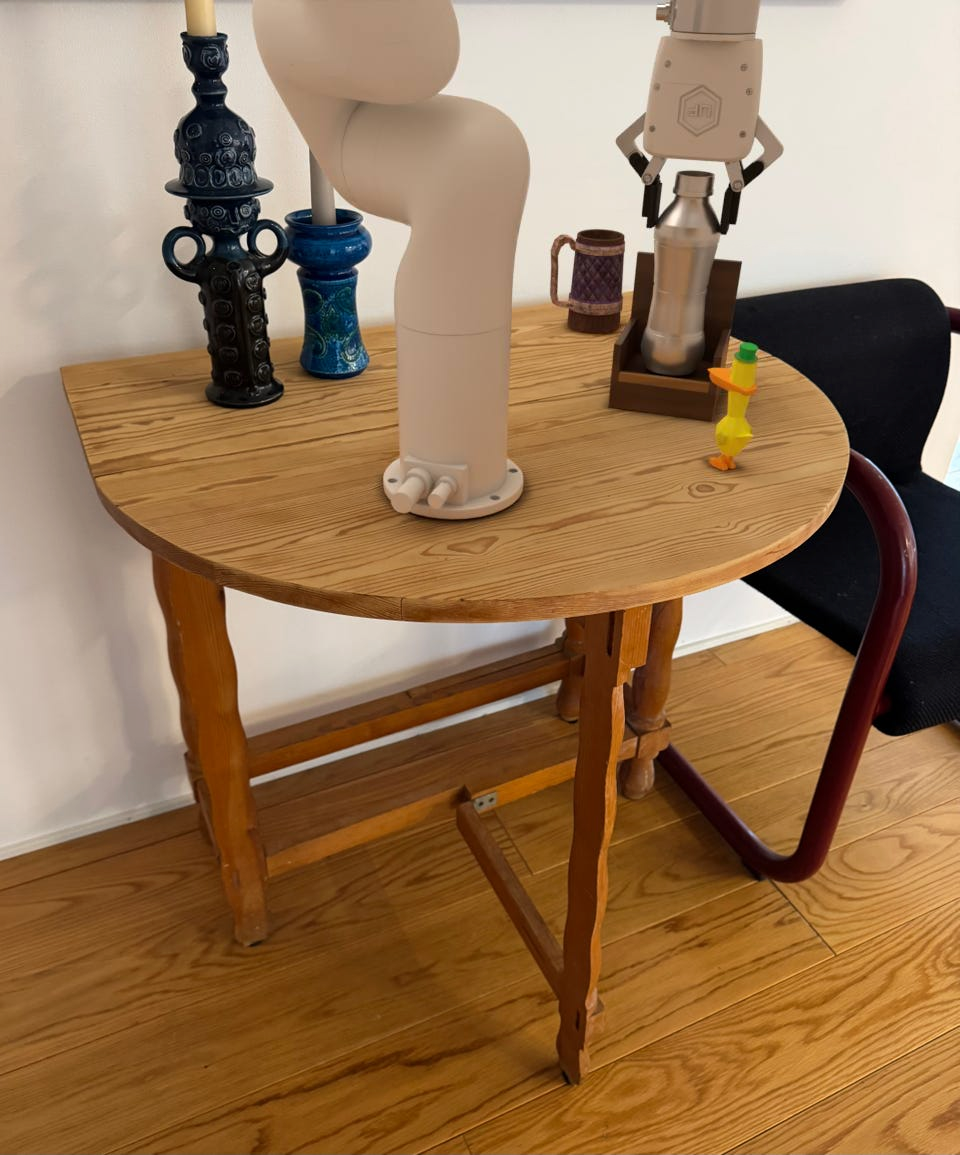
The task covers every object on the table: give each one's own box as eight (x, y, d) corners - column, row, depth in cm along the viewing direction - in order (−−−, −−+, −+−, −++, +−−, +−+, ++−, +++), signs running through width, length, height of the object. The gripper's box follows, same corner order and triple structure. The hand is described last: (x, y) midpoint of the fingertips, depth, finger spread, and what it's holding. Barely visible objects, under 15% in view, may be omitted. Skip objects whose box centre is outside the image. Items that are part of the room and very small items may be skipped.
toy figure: (683, 454, 92) (701, 333, 86) (712, 447, 94) (731, 327, 87) (731, 482, 87) (754, 357, 81) (760, 474, 89) (784, 350, 82)
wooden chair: (711, 421, 99) (733, 286, 91) (608, 407, 102) (620, 275, 94) (721, 387, 107) (742, 260, 99) (625, 375, 110) (638, 251, 102)
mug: (606, 315, 128) (614, 223, 122) (629, 332, 122) (639, 236, 116) (536, 322, 125) (540, 228, 119) (556, 339, 120) (562, 241, 113)
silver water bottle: (705, 383, 100) (738, 181, 89) (641, 381, 100) (665, 179, 89) (695, 362, 105) (724, 168, 94) (634, 360, 105) (656, 166, 94)
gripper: (610, 18, 84) (594, 229, 94) (814, 25, 79) (774, 245, 89) (626, 15, 90) (609, 213, 100) (816, 21, 85) (779, 227, 95)
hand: (687, 226), depth 94 cm, fingers closed on silver water bottle, 6 cm apart
